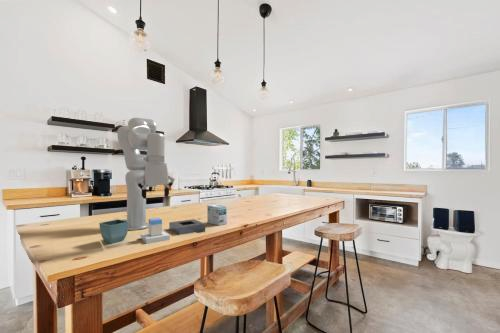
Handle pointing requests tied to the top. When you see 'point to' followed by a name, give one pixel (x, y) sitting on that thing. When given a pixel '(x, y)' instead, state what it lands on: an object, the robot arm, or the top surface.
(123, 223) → the flower pot
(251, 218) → the top surface
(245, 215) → the top surface
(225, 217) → the light bulb box
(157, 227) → the plug
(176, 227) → the port block
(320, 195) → the top surface
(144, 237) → the grey base plate
